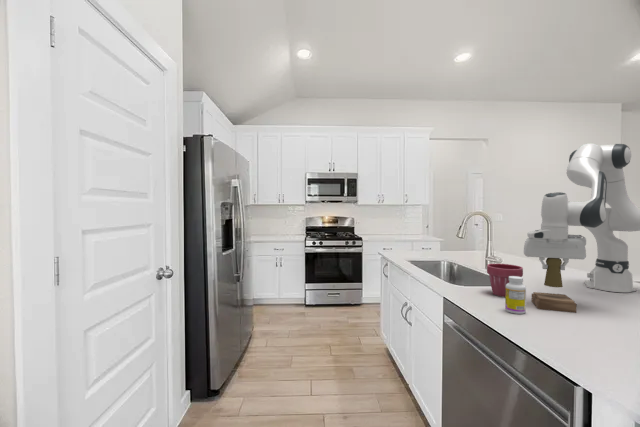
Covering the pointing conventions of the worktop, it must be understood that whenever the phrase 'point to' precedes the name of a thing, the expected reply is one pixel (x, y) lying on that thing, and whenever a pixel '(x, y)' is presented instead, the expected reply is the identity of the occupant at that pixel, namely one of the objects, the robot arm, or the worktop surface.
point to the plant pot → (502, 276)
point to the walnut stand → (553, 302)
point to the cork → (553, 273)
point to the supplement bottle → (515, 295)
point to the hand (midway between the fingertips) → (553, 269)
